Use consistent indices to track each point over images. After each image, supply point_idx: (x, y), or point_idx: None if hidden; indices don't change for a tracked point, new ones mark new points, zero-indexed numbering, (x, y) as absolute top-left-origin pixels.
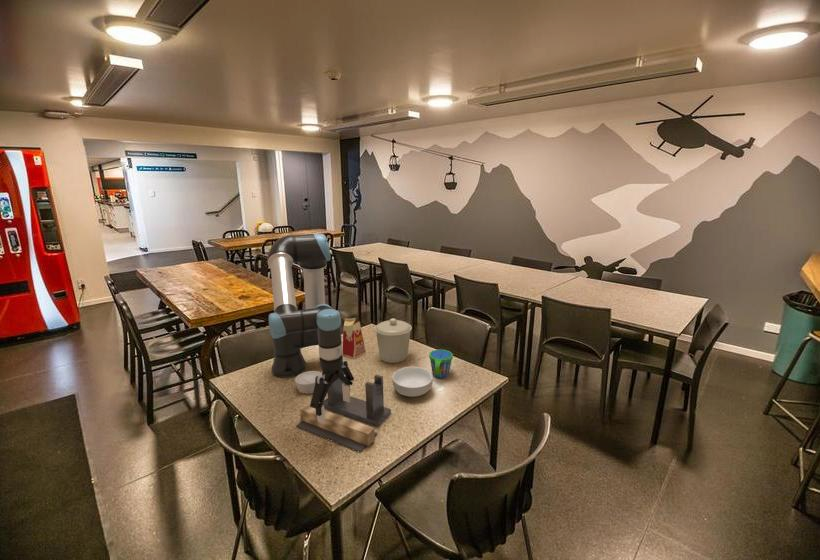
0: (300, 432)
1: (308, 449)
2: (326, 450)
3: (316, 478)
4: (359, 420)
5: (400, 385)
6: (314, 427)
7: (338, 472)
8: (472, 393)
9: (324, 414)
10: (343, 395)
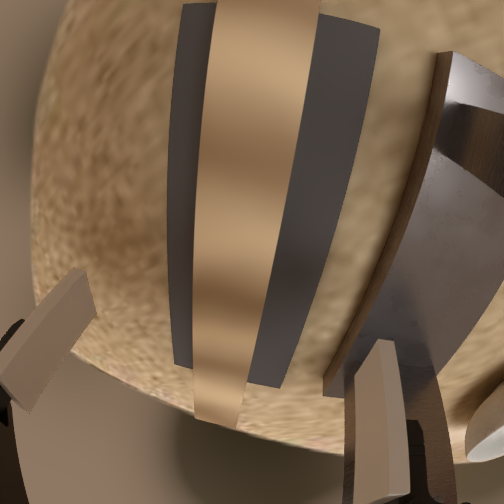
0: (157, 61)
1: (88, 187)
2: (121, 259)
3: (44, 279)
4: (356, 315)
5: (494, 432)
6: None
7: None
8: (463, 455)
9: (62, 358)
10: (380, 386)
